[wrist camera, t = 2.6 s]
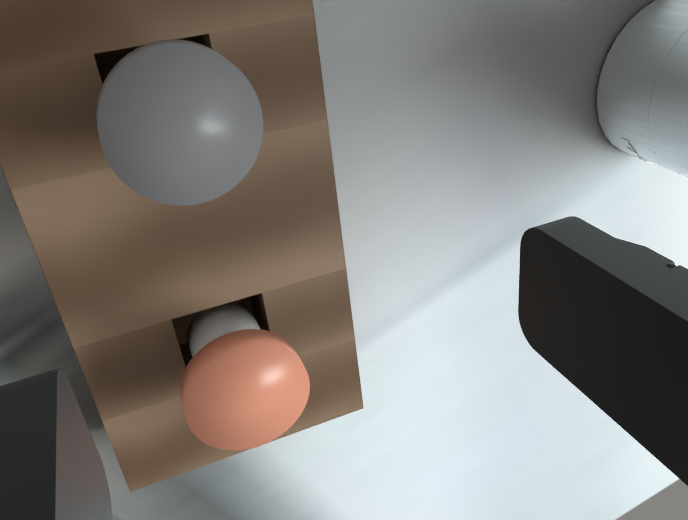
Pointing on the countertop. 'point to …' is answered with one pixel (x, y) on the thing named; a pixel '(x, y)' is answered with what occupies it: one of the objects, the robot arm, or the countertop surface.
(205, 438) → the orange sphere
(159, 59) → the grey button
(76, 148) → the button panel
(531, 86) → the countertop surface
